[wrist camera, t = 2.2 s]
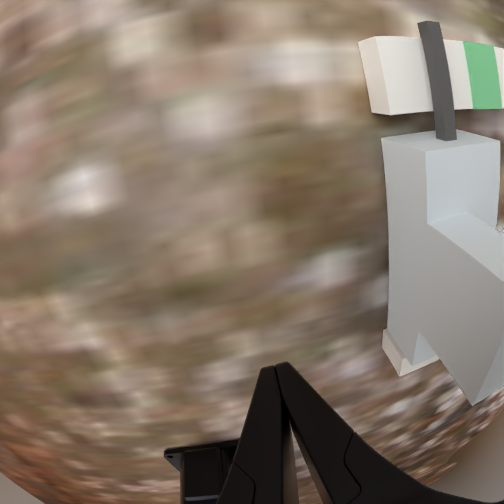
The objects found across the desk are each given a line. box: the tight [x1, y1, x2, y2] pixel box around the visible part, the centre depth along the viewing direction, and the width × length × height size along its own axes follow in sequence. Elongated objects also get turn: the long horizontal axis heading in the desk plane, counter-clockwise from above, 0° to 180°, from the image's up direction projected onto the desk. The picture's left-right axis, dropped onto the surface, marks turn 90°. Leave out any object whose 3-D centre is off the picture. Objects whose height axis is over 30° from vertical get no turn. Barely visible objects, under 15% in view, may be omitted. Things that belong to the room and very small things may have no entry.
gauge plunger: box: [381, 21, 504, 406], centre depth 9 cm, size 14×4×8 cm, turn 13°
